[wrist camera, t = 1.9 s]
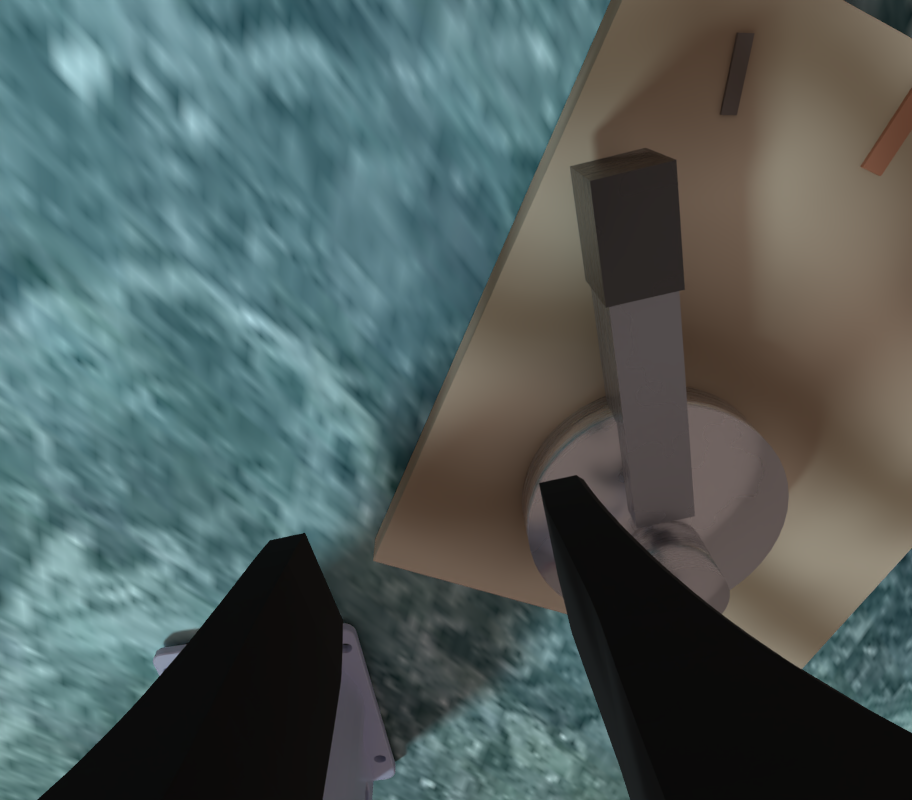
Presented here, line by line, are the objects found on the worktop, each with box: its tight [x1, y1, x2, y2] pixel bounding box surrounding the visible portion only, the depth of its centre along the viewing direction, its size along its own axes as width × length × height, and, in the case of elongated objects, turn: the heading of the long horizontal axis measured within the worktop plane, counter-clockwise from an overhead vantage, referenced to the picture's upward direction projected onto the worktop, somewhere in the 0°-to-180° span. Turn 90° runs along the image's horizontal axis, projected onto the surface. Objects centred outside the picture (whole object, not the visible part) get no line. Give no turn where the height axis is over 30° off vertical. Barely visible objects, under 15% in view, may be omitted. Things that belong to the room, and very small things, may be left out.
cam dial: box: [522, 148, 789, 614], centre depth 18 cm, size 15×8×4 cm, turn 13°
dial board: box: [373, 0, 912, 669], centre depth 21 cm, size 20×18×1 cm
